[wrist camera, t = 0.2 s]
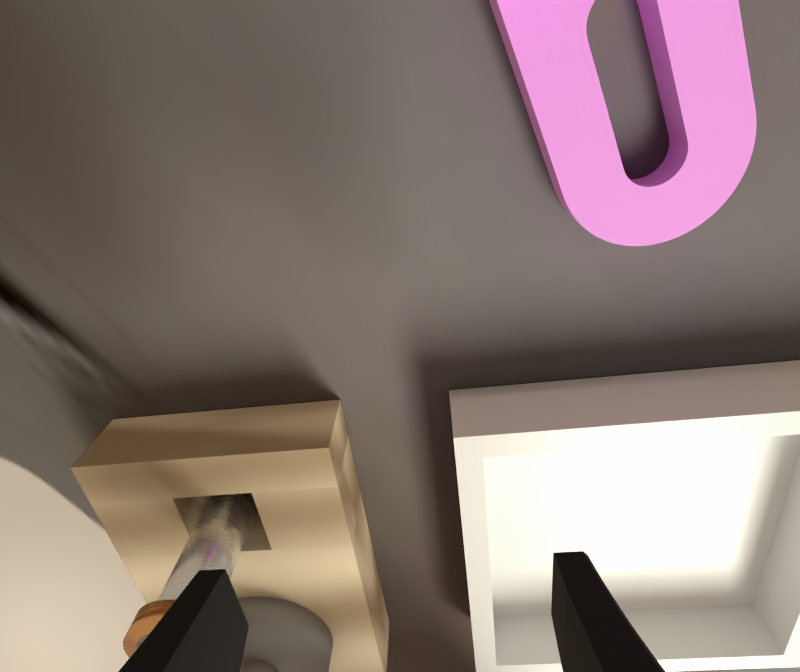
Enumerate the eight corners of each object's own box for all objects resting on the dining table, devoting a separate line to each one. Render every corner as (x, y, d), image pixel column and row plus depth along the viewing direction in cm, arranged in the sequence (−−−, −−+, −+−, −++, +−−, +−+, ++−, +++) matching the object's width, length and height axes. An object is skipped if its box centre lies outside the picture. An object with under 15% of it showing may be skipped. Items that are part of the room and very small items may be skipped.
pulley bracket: (389, 622, 28) (382, 740, 23) (215, 630, 28) (173, 745, 24) (340, 399, 21) (315, 500, 16) (113, 419, 22) (23, 519, 17)
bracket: (422, -188, 12) (425, -445, 6) (647, -344, 11) (926, -855, 5) (577, 259, 18) (662, 357, 12) (743, 189, 16) (937, 258, 10)
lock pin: (283, 492, 23) (224, 675, 16) (225, 496, 23) (142, 678, 16) (268, 445, 22) (196, 622, 15) (207, 450, 22) (109, 626, 15)
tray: (762, 605, 26) (801, 667, 23) (471, 619, 27) (476, 678, 24) (844, 356, 19) (912, 402, 16) (448, 390, 20) (453, 437, 18)
